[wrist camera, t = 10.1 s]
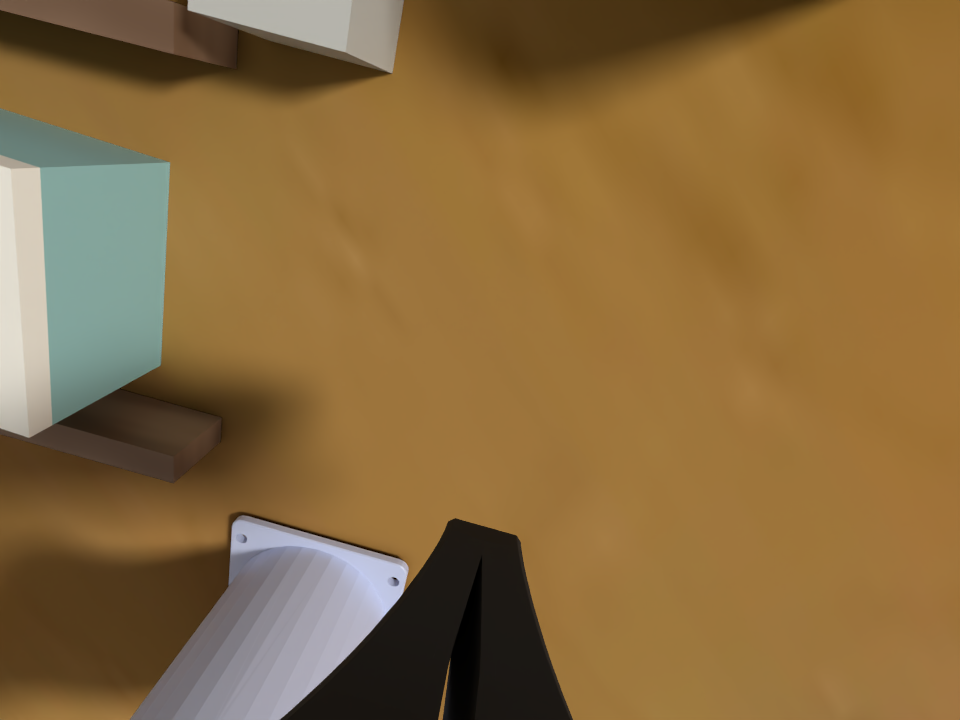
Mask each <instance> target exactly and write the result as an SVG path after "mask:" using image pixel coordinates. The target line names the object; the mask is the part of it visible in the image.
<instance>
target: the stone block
mask: <svg viewBox="0 0 960 720" xmlns="http://www.w3.org/2000/svg"><path fill="white" fill-rule="evenodd" d="M403 3H404V0H188V10H189V11H191V12H194V13H197V14H199V15H202V16H205V17H207V18H210V19H213V20H215V21H218V22H221V23H223V24H226V25H229V26H231V27H234V28H237V29H239V30H242V31H245V32H247V33H250V34H253V35H255V36H258V37H261V38H263V39H266V40H269V41H272V42H276V43H280V44H284V45H287V46H291V47H295V48H299V49H302V50H306V51H310V52H313V53H317V54H321V55H325V56H328V57H332V58H336V59H340V60H343V61H347V62H351V63H355V64H358V65H362V66H366V67H369V68H373V69H377V70H381V71H384V72H388V73H392V72H393V66H394V60H395V54H396V47H397V41H398V35H399V28H400V22H401V16H402V10H403Z"/></svg>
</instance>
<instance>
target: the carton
mask: <svg viewBox="0 0 960 720" xmlns="http://www.w3.org/2000/svg"><path fill="white" fill-rule="evenodd" d="M169 174H170V162H167V161H164V160H161V159H158V158H155V157H151V156H148V155H145V154H142V153H139V152H136V151H133V150H129V149H126V148H123V147H120V146H117V145H114V144H111V143H107V142H104V141H101V140H98V139H95V138H92V137H89V136H85V135H82V134H79V133H76V132H73V131H70V130H67V129H63V128H60V127H57V126H54V125H51V124H48V123H45V122H41V121H38V120H35V119H32V118H29V117H26V116H23V115H19V114H16V113H13V112H10V111H7V110H4V109H1V108H0V428H1V429H4V430H7V431H10V432H13V433H16V434H19V435H22V436H25V437H28V438H30V437H32V436H34V435H36V434H37V433H39V432H41V431H43V430H45V429H46V428H48V427H50V426H52V425H54V424H55V423H57V422H59V421H61V420H63V419H64V418H66V417H68V416H70V415H72V414H74V413H75V412H77V411H79V410H81V409H83V408H84V407H86V406H88V405H90V404H92V403H93V402H95V401H97V400H99V399H101V398H102V397H104V396H106V395H108V394H110V393H112V392H113V391H115V390H117V389H119V388H121V387H122V386H124V385H126V384H128V383H130V382H131V381H133V380H135V379H137V378H139V377H141V376H142V375H144V374H146V373H148V372H150V371H151V370H153V369H155V368H157V367H159V366H160V365H161V349H162V327H163V305H164V283H165V261H166V239H167V217H168V195H169Z"/></svg>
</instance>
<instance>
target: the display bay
mask: <svg viewBox="0 0 960 720" xmlns="http://www.w3.org/2000/svg"><path fill="white" fill-rule="evenodd" d="M0 10H2V11H6V12H10V13H14V14H18V15H22V16H25V17H29V18H33V19H37V20H41V21H45V22H49V23H53V24H57V25H61V26H65V27H69V28H73V29H77V30H80V31H84V32H88V33H92V34H96V35H100V36H104V37H108V38H112V39H116V40H120V41H124V42H128V43H132V44H136V45H139V46H143V47H147V48H151V49H155V50H159V51H163V52H167V53H171V54H175V55H179V56H183V57H187V58H191V59H196V60H200V61H204V62H208V63H212V64H216V65H220V66H225V67H229V68H233V69H236V67H237V44H238V29H237V28H234V27H231V26H229V25H226V24H223V23H221V22H218V21H215V20H213V19H210V18H207V17H205V16H202V15H199V14H197V13H194V12H191V11H189V10H188V7H186V6H183V5H181V4H178V3H175V2H172V1H168V0H0ZM221 421H222V418H221V417H218V416H214V415H211V414H207V413H203V412H200V411H196V410H193V409H189V408H185V407H182V406H178V405H175V404H171V403H167V402H164V401H160V400H157V399H153V398H149V397H146V396H142V395H139V394H135V393H131V392H128V391H124V390H121V389H117V390H115V391H113V392H112V393H110V394H108V395H106V396H104V397H102V398H101V399H99V400H97V401H95V402H93V403H92V404H90V405H88V406H86V407H84V408H83V409H81V410H79V411H77V412H75V413H74V414H72V415H70V416H68V417H66V418H64V419H63V420H61V421H59V422H57V423H55V424H54V425H52V426H50V427H48V428H46V429H45V430H43V431H41V432H39V433H37V434H36V435H34V436H32V437H30V438H28V437H25V436H22V435H19V434H16V433H13V432H10V431H7V430H4V429H1V428H0V434H1V435H5V436H8V437H12V438H15V439H19V440H22V441H26V442H29V443H33V444H37V445H40V446H44V447H47V448H51V449H54V450H58V451H61V452H65V453H68V454H72V455H75V456H79V457H82V458H86V459H90V460H93V461H97V462H100V463H104V464H107V465H111V466H114V467H118V468H121V469H125V470H128V471H132V472H135V473H139V474H143V475H146V476H150V477H153V478H157V479H160V480H164V481H167V482H171V483H174V482H175V481H177V480H178V479H179V478H180V477H181V476H182V475H183V474H185V473H186V472H187V471H188V470H189V469H190V468H191V467H193V466H194V465H195V464H196V463H197V462H198V461H199V460H200V459H202V458H203V457H204V456H205V455H206V454H207V453H208V452H210V451H211V450H212V449H213V448H214V447H215V446H216V445H218V444H219V443H220V442H221Z"/></svg>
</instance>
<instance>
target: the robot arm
mask: <svg viewBox="0 0 960 720" xmlns="http://www.w3.org/2000/svg"><path fill="white" fill-rule="evenodd" d="M242 534H243V535H245V536H246V537H245V536H243V535H242ZM407 574H408V566H407V564H406V563H405V562H404V561H402V560H400V559H397V558H394V557H390V556H387V555H383V554H380V553H376V552H373V551H369V550H365V549H362V548H358V547H355V546H351V545H348V544H344V543H341V542H337V541H334V540H330V539H327V538H323V537H320V536H316V535H313V534H309V533H306V532H302V531H299V530H295V529H291V528H288V527H284V526H281V525H277V524H274V523H270V522H267V521H263V520H260V519H256V518H253V517H249V516H244V515H242V516H239V517H238V518H237V519H236V520H235V521H234V522H233V524H232V533H231V551H230V569H229V586H228V588H227V589H226V591H225V592H224V593H223V595H222V596H221V597H220V599H219V600H218V601H217V603H216V604H215V605H214V607H213V608H212V610H211V611H210V612H209V614H208V615H207V616H206V618H205V619H204V620H203V622H202V623H201V624H200V626H199V627H198V628H197V630H196V631H195V632H194V634H193V635H192V636H191V638H190V639H189V640H188V642H187V643H186V644H185V646H184V647H183V648H182V650H181V651H180V653H179V654H178V655H177V657H176V658H175V659H174V661H173V662H172V663H171V665H170V666H169V667H168V669H167V670H166V671H165V673H164V674H163V675H162V677H161V678H160V679H159V681H158V682H157V683H156V685H155V686H154V687H153V689H152V690H151V692H150V693H149V694H148V696H147V697H146V698H145V700H144V701H143V702H142V704H141V705H140V706H139V708H138V709H137V710H136V712H135V713H134V714H133V716H132V717H131V718H130V720H438V717H439V712H440V706H441V701H442V696H443V690H444V685H445V680H446V675H447V669H448V665H449V661H450V667H449V675H448V683H447V690H446V698H445V706H444V714H443V720H573V719H572V716H571V714H570V711H569V709H568V706H567V704H566V701H565V699H564V696H563V693H562V691H561V688H560V685H559V683H558V680H557V677H556V674H555V672H554V669H553V666H552V663H551V660H550V657H549V654H548V651H547V648H546V645H545V642H544V639H543V636H542V632H541V629H540V626H539V622H538V619H537V616H536V612H535V609H534V605H533V601H532V598H531V594H530V590H529V585H528V581H527V577H526V572H525V568H524V562H523V557H522V551H521V542H520V540H519V539H518V537H517V536H516V535H513V534H509V533H506V532H502V531H498V530H495V529H491V528H488V527H484V526H481V525H477V524H473V523H470V522H466V521H463V520H459V519H456V518H455V519H453V520H450V521H448V523H447V526H446V529H445V531H444V533H443V535H442V537H441V539H440V541H439V542H438V544H437V546H436V547H435V549H434V551H433V552H432V554H431V555H430V557H429V558H428V560H427V561H426V563H425V564H424V566H423V567H422V569H421V570H420V571H419V573H418V574H417V575H416V577H415V578H414V579H413V581H412V582H411V584H410V585H409V586H408V588H407V589H406V590H405V592H404V593H403V591H404V587H405V583H406V579H407ZM392 577H395V578H397V579H398V580H395V579H393V578H392ZM450 658H451V659H450Z"/></svg>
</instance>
